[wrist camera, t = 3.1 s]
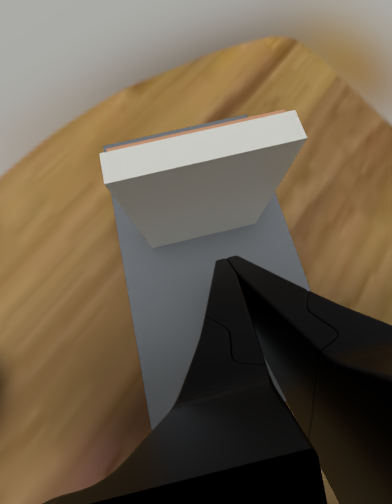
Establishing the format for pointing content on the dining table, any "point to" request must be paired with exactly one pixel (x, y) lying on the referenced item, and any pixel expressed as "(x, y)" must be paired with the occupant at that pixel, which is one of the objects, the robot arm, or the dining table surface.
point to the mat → (189, 288)
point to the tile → (203, 176)
